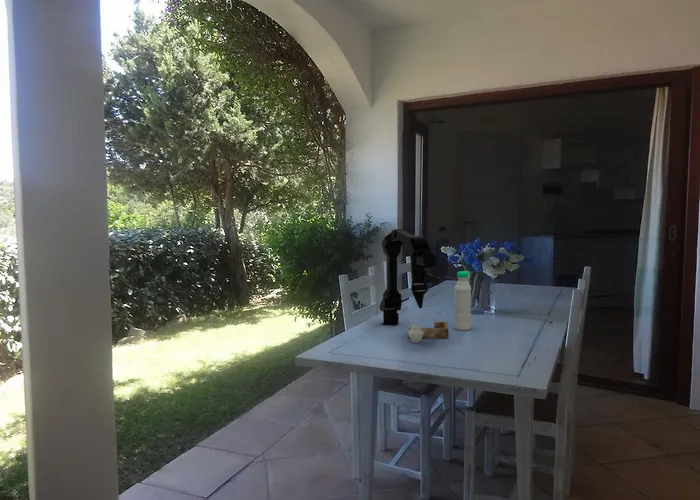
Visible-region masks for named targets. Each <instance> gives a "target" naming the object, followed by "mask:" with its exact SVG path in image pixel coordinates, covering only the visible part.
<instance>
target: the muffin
mask: <svg viewBox="0 0 700 500" xmlns="http://www.w3.org/2000/svg"><path fill="white" fill-rule="evenodd" d="M410 328H411V329H410V330H408V332H407V335H408V338H409V337H410V338H409V339H410V341H411V342H412V343H415V344H417V343H420V342H421V341H422V337H423V334H424V333H423V331H422V330H421V329H420V328H421V326H420V325H418V324H413V325H411V326H410Z"/></svg>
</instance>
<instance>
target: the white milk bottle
mask: <svg viewBox="0 0 700 500" xmlns="http://www.w3.org/2000/svg"><path fill="white" fill-rule="evenodd" d="M456 276H457V279H458V280H457V281H456V283H455V286H454V328H455V329H456V330H458V331H470V330H471V328H472V321H471V320H472V313H471V312H472V293H471V291H472V287H471V285H470V282H469V281H468V278H469V272H468V271H462V270H461V271H457V275H456Z"/></svg>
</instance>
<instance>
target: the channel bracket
mask: <svg viewBox="0 0 700 500" xmlns="http://www.w3.org/2000/svg"><path fill="white" fill-rule="evenodd" d="M433 325H434V326H433V327H420V329H421V330H422V331H423V333H424V334H423V337H422V339H423V340H425V339H428V340H431V339H432V340H433V339H435V340H449V326H448V322H447V321H434V322H433ZM408 329H409V330H410V329H411V327H409V328H408ZM409 330H408V331H409ZM408 339H410V337H409V336H408ZM422 339H421V340H422Z"/></svg>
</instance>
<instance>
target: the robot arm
mask: <svg viewBox="0 0 700 500" xmlns="http://www.w3.org/2000/svg"><path fill="white" fill-rule="evenodd" d="M404 244H405V245H406V246H405V248H406V249H408V251H409V252H410V253H409V254H408V257H410V273H411V285H410V286H411V287H410V288H411V290H410V291H411V293H412V296H413V298H414V299H415V302H416V304H417V307H418V308H419V309H422V308H423V303H424V297H425V294H426V293H427V292H428V290H429V287H428V286H429V285H428V283H431V284H434V285H436V286H439V285H440V282H441V278H442V277H439V276H438V273H435V272H432V273H428V272H427V270H426V269H432V268H434V267H435V266H436V264H437V258H436V255H435V254H433V253H432V248H431V246H430V245H429V242H428V239H427V238H426V237H425V236H424V235H414V234H411V233H409V232H408V231H405V230H404V229H402V228H398V229H397V228H396V229H392V230H391V231H390V233H388V234H387V235H386V236H384V238H383V240H382V241H381V247H382V251H383V254H384V255H385V257H386V289H385V290H384V292H383V294H382V300H381V302H380V304H379V311H381V312H382V313H383V315H382V316H383V323H382V325H383V326H398V324H399V319H400V317H399V314H400V313H399V312H398V311H402V306H403V305H402V303H403V300H402V294H401V293H400V291H399V290H398V257H399V256H400V254H401V251H402V247H403V245H404Z"/></svg>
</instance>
